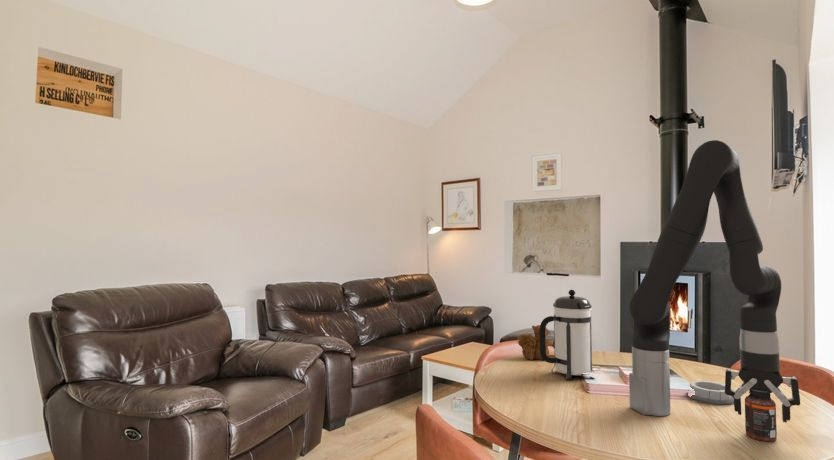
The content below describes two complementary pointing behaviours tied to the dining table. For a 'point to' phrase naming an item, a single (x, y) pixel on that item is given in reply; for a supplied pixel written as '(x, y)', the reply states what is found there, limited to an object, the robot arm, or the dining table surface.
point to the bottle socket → (711, 393)
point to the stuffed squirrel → (534, 344)
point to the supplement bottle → (760, 416)
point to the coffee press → (570, 336)
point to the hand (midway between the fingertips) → (761, 417)
